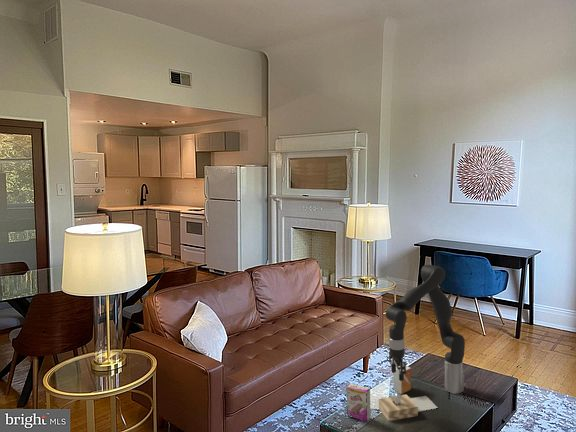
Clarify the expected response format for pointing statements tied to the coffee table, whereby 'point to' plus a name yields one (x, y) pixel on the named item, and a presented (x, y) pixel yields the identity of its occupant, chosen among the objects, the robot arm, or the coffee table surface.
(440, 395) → the coffee table surface
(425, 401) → the mat
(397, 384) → the small box
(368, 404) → the candy bar box
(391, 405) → the hole block
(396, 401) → the peg
